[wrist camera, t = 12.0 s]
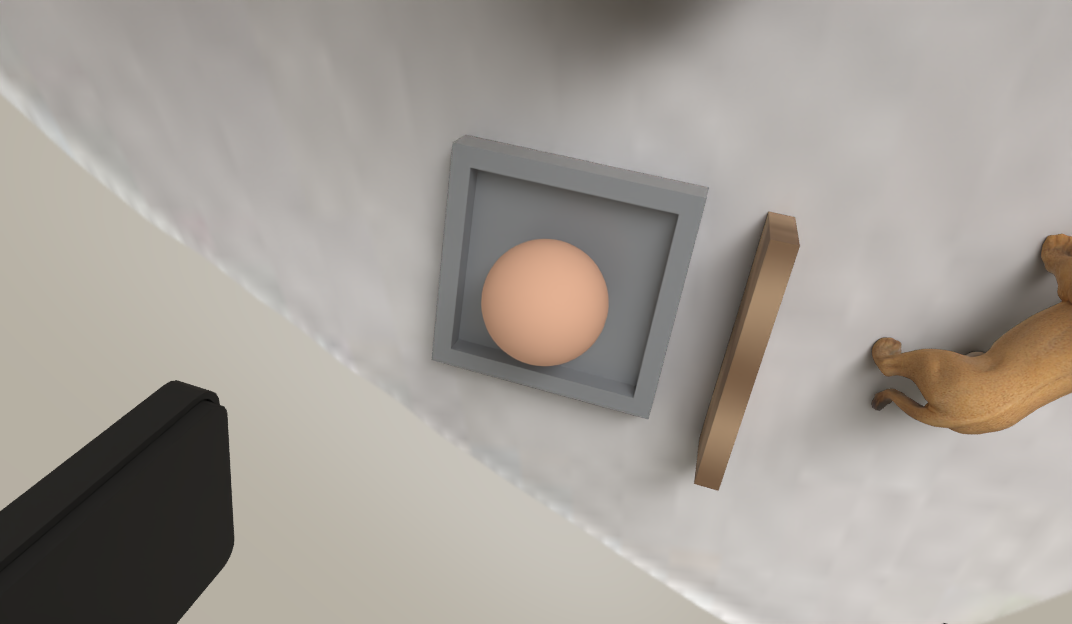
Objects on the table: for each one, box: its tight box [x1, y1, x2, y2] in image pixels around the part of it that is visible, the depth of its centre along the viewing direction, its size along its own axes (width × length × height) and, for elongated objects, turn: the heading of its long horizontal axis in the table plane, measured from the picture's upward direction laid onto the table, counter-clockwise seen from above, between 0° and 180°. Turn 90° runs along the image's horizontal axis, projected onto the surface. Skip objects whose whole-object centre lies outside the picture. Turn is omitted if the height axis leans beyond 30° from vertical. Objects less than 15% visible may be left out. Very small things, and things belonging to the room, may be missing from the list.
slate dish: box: [432, 135, 709, 419], centre depth 37 cm, size 12×12×2 cm
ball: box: [481, 239, 609, 366], centre depth 35 cm, size 6×6×6 cm
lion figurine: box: [872, 234, 1072, 434], centre depth 29 cm, size 15×5×9 cm, turn 143°
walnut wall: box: [694, 212, 800, 491], centre depth 35 cm, size 13×1×4 cm, turn 172°
